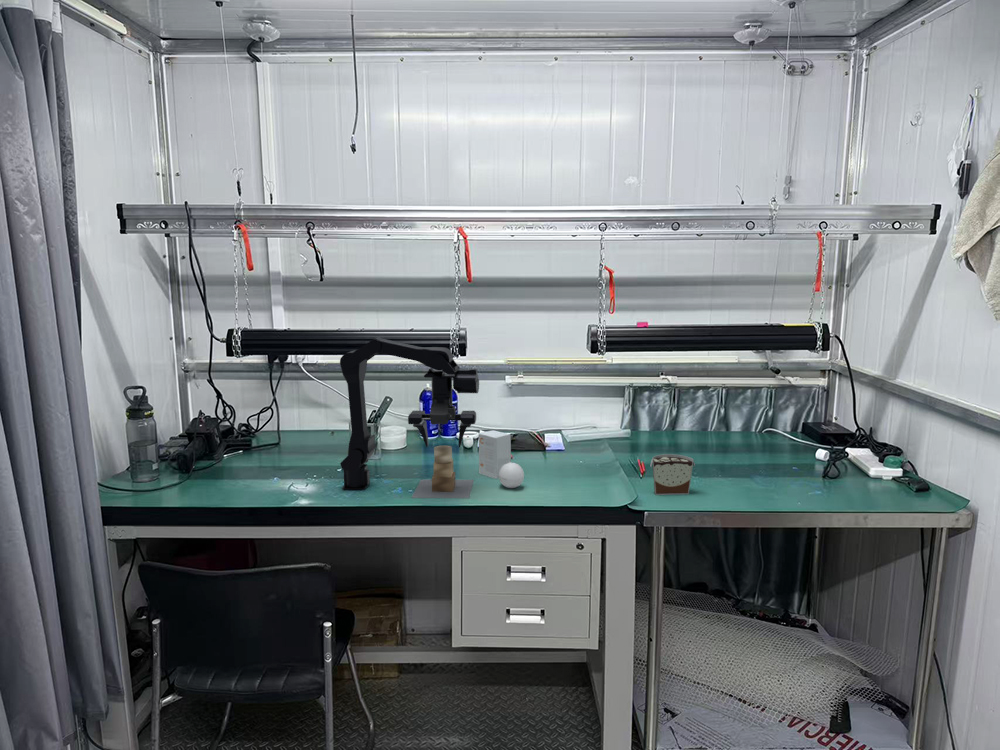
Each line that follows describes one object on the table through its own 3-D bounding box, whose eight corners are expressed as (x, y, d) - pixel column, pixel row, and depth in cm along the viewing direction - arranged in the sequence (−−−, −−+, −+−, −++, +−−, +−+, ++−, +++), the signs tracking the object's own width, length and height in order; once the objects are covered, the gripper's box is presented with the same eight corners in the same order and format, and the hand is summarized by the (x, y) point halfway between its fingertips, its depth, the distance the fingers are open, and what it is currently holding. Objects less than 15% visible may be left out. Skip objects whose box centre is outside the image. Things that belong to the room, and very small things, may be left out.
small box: (511, 475, 194) (511, 434, 192) (496, 480, 190) (496, 437, 188) (493, 469, 200) (493, 429, 198) (478, 474, 196) (477, 433, 194)
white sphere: (523, 483, 186) (523, 459, 185) (524, 491, 179) (524, 466, 178) (489, 483, 187) (489, 459, 185) (489, 491, 179) (488, 466, 178)
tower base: (432, 491, 179) (431, 478, 178) (435, 484, 185) (434, 471, 184) (453, 491, 178) (452, 478, 178) (455, 485, 184) (455, 471, 184)
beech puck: (433, 463, 178) (432, 450, 177) (435, 458, 183) (435, 445, 182) (450, 463, 178) (450, 450, 177) (453, 458, 183) (452, 445, 182)
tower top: (433, 477, 179) (433, 463, 178) (436, 472, 184) (436, 458, 183) (451, 477, 178) (451, 464, 178) (453, 472, 183) (453, 458, 183)
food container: (687, 487, 182) (688, 453, 181) (694, 494, 176) (695, 459, 175) (644, 487, 182) (645, 453, 180) (650, 494, 176) (651, 460, 174)
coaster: (411, 498, 174) (411, 497, 174) (420, 480, 190) (420, 479, 190) (469, 499, 173) (469, 498, 173) (474, 480, 189) (474, 479, 189)
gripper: (403, 398, 170) (405, 454, 172) (472, 398, 169) (473, 454, 171) (410, 391, 181) (412, 444, 183) (476, 390, 180) (476, 444, 182)
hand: (443, 447), depth 180 cm, fingers open, 9 cm apart
